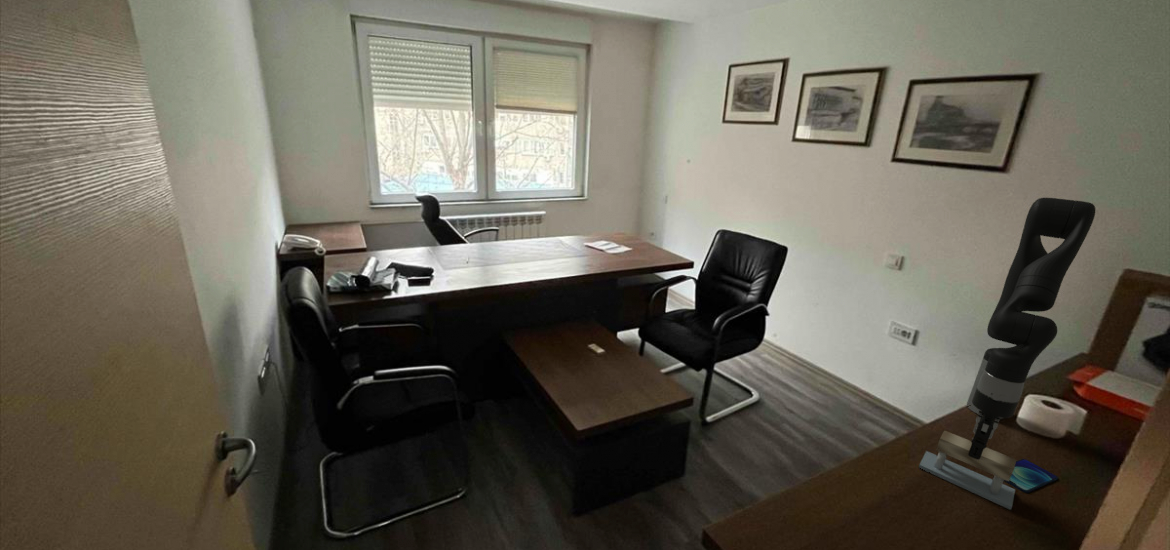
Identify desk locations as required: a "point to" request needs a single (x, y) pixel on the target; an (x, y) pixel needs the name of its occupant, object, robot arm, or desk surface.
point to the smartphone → (1029, 476)
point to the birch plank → (987, 462)
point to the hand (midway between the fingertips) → (976, 449)
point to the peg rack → (968, 479)
